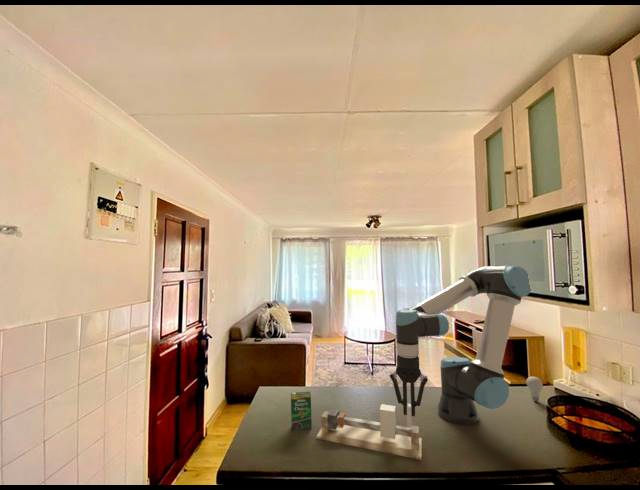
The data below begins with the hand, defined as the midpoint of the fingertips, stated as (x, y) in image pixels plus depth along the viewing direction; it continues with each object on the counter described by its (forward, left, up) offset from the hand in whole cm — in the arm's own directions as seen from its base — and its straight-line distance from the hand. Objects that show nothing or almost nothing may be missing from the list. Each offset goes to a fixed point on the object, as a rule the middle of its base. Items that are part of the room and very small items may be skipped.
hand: (409, 424), depth 100 cm
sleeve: (+7, 0, -5) cm, 9 cm away
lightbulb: (-53, -54, -8) cm, 76 cm away
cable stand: (+14, 0, -7) cm, 16 cm away
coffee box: (+40, +1, -8) cm, 41 cm away
